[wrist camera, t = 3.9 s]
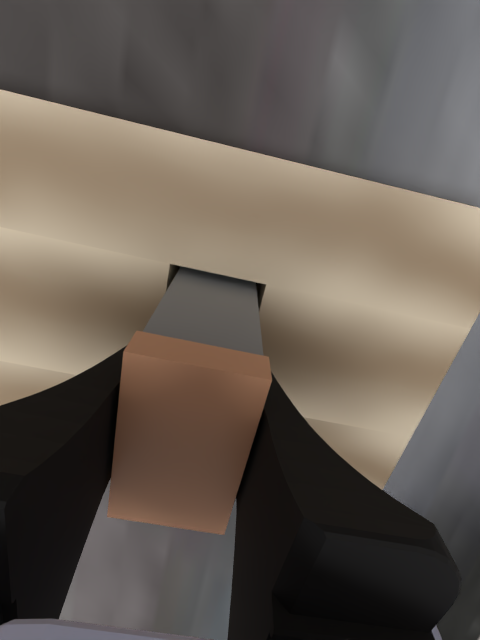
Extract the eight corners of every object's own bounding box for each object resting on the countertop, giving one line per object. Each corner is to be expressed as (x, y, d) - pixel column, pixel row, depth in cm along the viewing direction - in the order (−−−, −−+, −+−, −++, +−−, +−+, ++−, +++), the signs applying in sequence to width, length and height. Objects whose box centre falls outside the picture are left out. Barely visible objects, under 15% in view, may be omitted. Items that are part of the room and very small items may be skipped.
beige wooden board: (358, 454, 20) (376, 500, 18) (2, 391, 19) (-39, 430, 16) (476, 209, 15) (530, 220, 12) (-19, 87, 13) (-87, 67, 10)
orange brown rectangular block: (231, 381, 16) (224, 534, 10) (163, 368, 16) (107, 516, 9) (258, 277, 14) (271, 380, 8) (180, 260, 14) (123, 351, 7)
